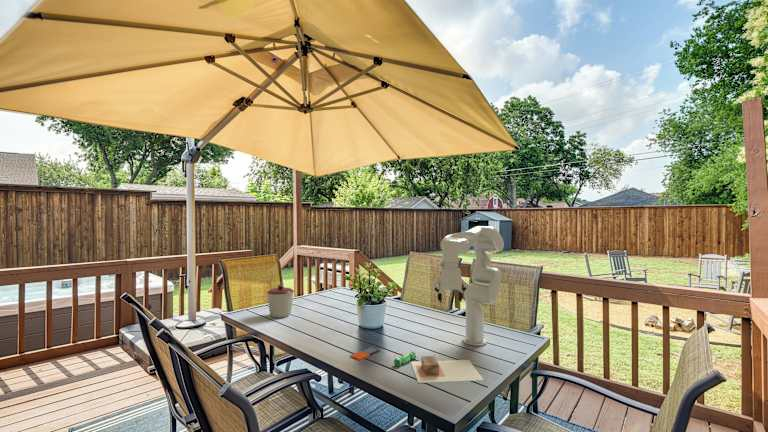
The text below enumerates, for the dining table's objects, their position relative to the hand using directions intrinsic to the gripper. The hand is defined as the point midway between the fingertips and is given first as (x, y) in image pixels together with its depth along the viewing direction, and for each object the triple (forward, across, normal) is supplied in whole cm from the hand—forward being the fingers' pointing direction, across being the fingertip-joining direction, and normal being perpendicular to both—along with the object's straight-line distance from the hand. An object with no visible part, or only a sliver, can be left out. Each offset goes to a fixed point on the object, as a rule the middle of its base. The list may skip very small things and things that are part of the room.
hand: (450, 301), depth 166 cm
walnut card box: (+28, -12, -11) cm, 32 cm away
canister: (+28, -95, +77) cm, 126 cm away
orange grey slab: (+29, -40, +10) cm, 50 cm away
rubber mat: (+28, -5, -11) cm, 31 cm away
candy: (+29, -22, -1) cm, 36 cm away
